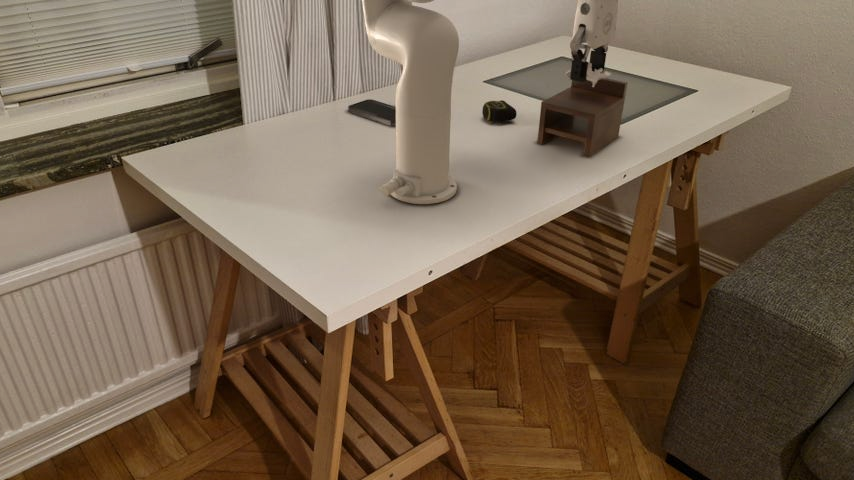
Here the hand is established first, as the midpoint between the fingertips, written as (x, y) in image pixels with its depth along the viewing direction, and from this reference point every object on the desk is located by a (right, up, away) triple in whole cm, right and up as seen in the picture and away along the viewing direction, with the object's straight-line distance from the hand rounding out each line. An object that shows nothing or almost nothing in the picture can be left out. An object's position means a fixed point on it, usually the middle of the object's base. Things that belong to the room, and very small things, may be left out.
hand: (587, 75), depth 141 cm
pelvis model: (0, -1, +1) cm, 2 cm away
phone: (-43, -4, +20) cm, 48 cm away
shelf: (0, -12, +8) cm, 14 cm away
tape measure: (-16, -5, +18) cm, 24 cm away
